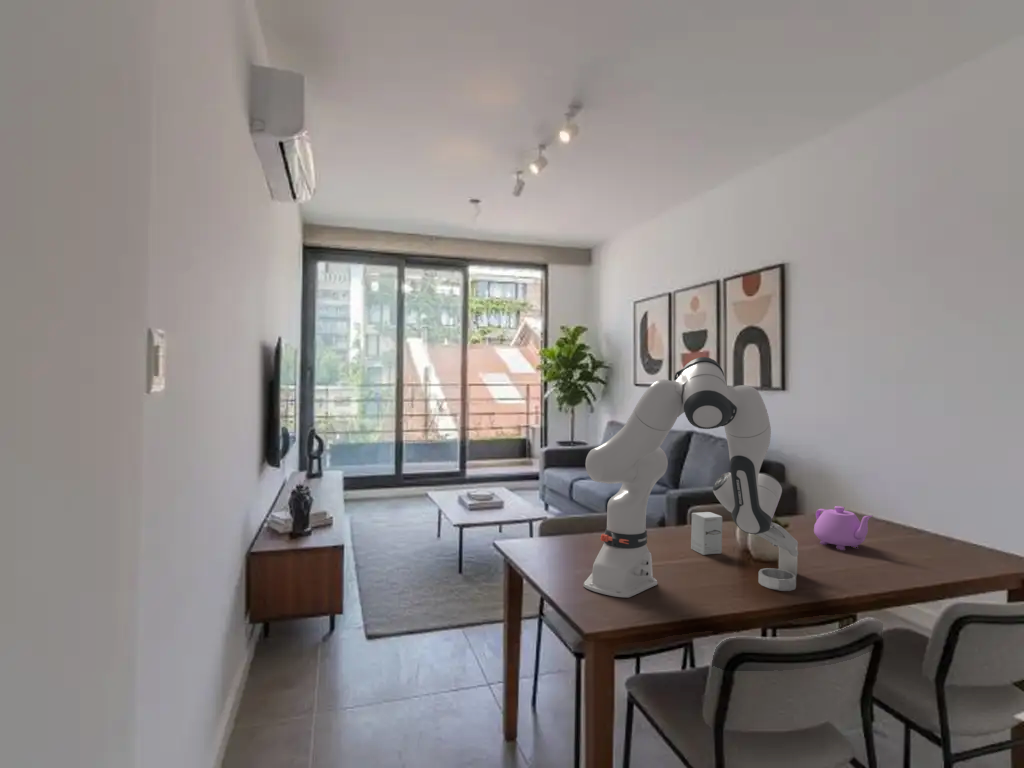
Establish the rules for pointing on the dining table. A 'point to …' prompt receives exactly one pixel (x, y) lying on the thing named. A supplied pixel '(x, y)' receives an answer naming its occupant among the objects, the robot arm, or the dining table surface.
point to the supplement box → (706, 533)
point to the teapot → (840, 527)
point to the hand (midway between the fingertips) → (786, 549)
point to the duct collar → (777, 579)
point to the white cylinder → (787, 561)
